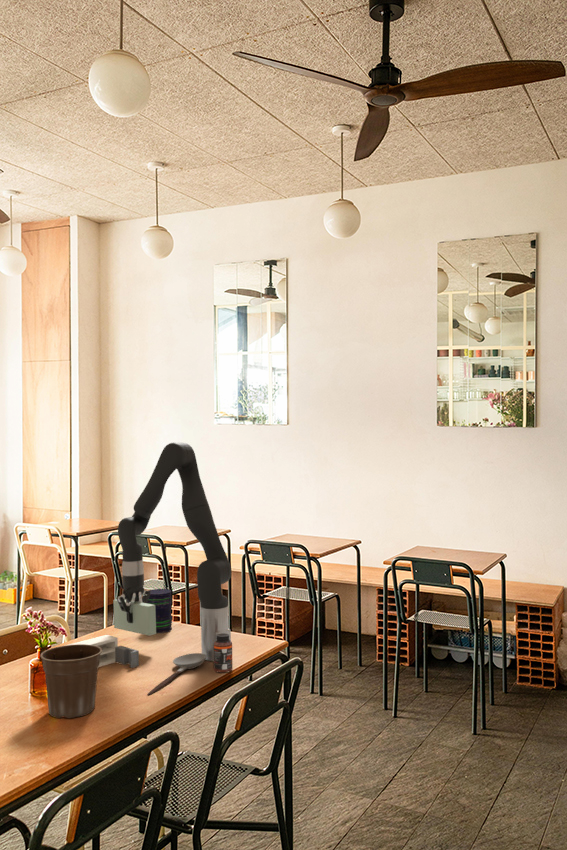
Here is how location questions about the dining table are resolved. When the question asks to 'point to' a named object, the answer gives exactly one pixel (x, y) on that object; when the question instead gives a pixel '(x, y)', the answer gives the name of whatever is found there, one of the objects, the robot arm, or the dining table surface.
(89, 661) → the plant pot
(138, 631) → the door
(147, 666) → the dining table surface
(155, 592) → the dark blue barrel
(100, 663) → the cabinet
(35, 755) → the dining table surface
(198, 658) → the spoon
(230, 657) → the supplement bottle
